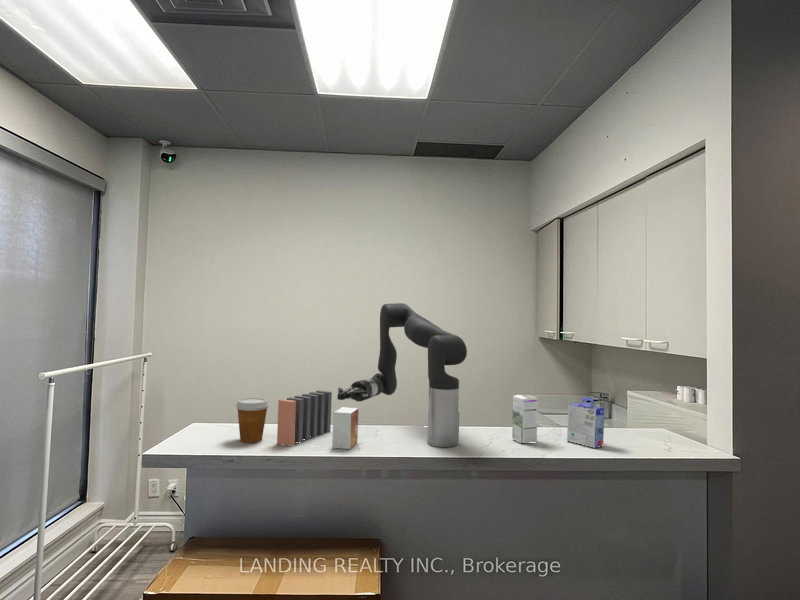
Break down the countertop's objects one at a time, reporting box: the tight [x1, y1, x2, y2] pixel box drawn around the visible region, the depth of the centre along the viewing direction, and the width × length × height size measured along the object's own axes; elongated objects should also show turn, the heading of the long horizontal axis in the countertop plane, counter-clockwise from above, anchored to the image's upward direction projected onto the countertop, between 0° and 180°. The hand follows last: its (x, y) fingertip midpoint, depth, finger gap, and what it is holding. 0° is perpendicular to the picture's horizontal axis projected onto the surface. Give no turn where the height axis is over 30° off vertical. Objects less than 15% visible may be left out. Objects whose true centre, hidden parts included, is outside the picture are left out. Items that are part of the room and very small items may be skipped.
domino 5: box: [308, 391, 325, 436], centre depth 159 cm, size 2×5×13 cm, turn 65°
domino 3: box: [293, 394, 311, 441], centre depth 152 cm, size 2×5×13 cm, turn 65°
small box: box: [331, 406, 360, 450], centre depth 146 cm, size 8×6×10 cm
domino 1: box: [276, 398, 296, 447], centre depth 145 cm, size 2×5×13 cm, turn 65°
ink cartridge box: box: [566, 397, 605, 448], centre depth 156 cm, size 10×6×14 cm, turn 39°
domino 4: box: [301, 393, 318, 438], centre depth 155 cm, size 2×5×13 cm, turn 65°
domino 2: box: [286, 396, 304, 444], centre depth 148 cm, size 2×5×13 cm, turn 65°
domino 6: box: [315, 389, 333, 433], centre depth 162 cm, size 2×5×13 cm, turn 65°
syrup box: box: [512, 394, 538, 444], centre depth 157 cm, size 6×6×14 cm
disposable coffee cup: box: [235, 397, 270, 444], centre depth 148 cm, size 10×10×12 cm
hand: (339, 396), depth 171 cm, fingers closed
